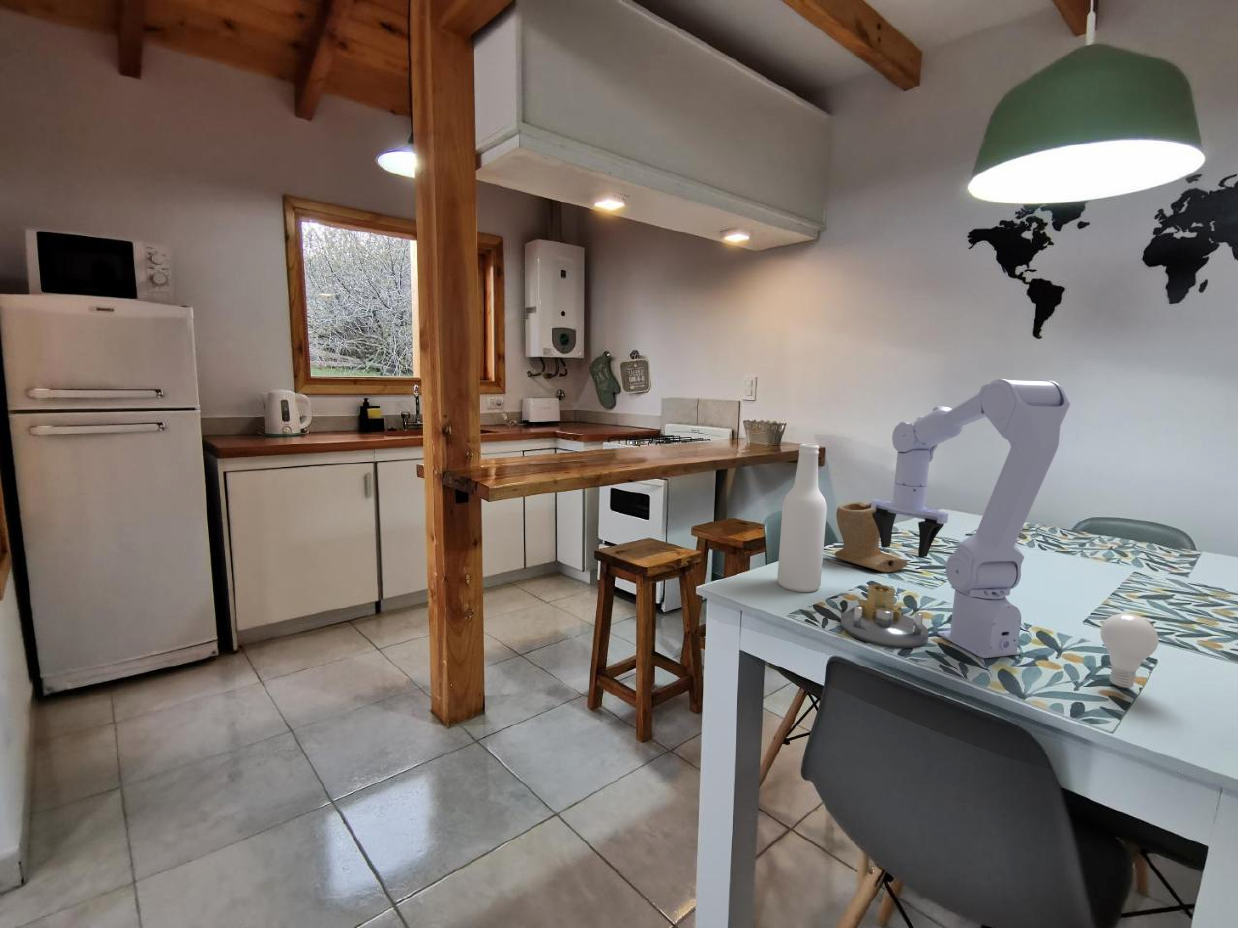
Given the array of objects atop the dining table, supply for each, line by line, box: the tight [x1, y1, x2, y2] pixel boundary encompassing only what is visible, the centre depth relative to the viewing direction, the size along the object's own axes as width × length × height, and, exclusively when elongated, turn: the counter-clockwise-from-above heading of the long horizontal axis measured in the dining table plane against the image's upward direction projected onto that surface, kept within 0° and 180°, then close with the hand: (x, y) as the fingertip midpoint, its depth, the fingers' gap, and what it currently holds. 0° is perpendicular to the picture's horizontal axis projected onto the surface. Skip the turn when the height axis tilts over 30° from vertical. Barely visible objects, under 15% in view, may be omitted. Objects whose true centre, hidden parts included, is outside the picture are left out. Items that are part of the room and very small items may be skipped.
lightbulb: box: [1100, 612, 1159, 690], centre depth 86 cm, size 6×6×11 cm
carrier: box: [840, 605, 929, 649], centre depth 105 cm, size 14×14×5 cm
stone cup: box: [834, 501, 909, 573], centre depth 142 cm, size 15×12×15 cm
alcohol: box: [776, 443, 828, 593], centre depth 125 cm, size 9×9×30 cm
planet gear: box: [857, 583, 902, 619], centre depth 110 cm, size 7×7×4 cm
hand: (903, 551), depth 119 cm, fingers open, 7 cm apart
